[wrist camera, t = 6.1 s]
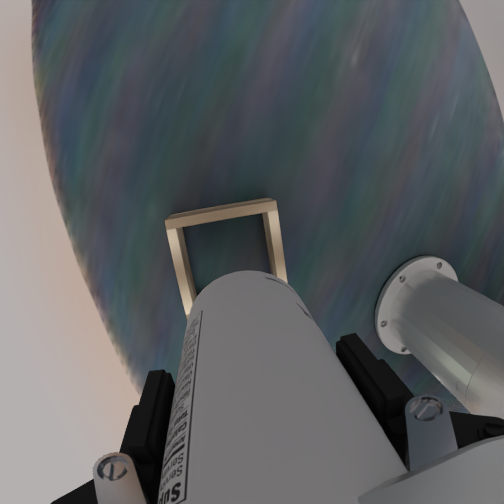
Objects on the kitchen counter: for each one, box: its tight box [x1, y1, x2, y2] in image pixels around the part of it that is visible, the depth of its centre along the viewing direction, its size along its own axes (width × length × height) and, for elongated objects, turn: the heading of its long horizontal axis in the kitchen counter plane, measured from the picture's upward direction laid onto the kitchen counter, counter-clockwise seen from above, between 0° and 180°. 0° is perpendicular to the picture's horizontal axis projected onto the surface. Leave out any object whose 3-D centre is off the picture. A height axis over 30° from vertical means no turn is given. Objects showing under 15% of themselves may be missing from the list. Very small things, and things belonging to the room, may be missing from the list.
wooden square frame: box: [165, 197, 287, 320], centre depth 29 cm, size 9×9×4 cm
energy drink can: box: [158, 270, 408, 504], centre depth 10 cm, size 6×6×15 cm
